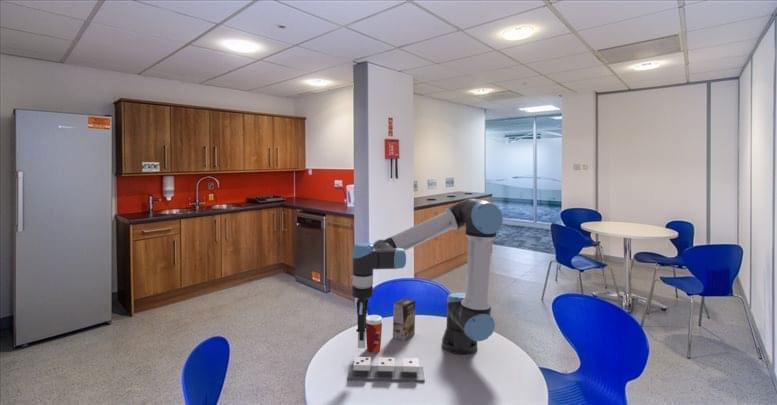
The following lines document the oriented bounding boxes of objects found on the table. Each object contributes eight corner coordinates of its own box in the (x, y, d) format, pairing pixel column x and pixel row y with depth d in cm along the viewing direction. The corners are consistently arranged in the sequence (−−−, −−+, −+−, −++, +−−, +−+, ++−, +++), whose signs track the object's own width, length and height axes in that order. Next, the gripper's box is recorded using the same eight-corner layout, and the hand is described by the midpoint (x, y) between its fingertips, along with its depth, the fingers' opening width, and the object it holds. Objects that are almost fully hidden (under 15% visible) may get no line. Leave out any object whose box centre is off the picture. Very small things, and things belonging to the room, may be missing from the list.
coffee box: (404, 341, 171) (404, 306, 169) (392, 337, 175) (392, 303, 173) (415, 333, 179) (415, 300, 177) (403, 330, 182) (404, 297, 181)
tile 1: (418, 363, 146) (418, 357, 146) (419, 371, 140) (419, 366, 140) (402, 362, 147) (402, 357, 146) (402, 371, 141) (402, 365, 140)
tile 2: (394, 362, 147) (394, 357, 146) (394, 371, 141) (394, 365, 140) (378, 362, 147) (378, 357, 147) (377, 370, 141) (378, 365, 141)
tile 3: (371, 362, 147) (371, 356, 147) (369, 370, 141) (369, 365, 141) (355, 361, 147) (355, 356, 147) (353, 370, 141) (353, 364, 141)
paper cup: (380, 355, 158) (380, 322, 157) (362, 352, 160) (362, 320, 159) (384, 346, 166) (384, 314, 165) (367, 344, 168) (367, 313, 166)
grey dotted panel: (423, 368, 148) (423, 366, 148) (424, 382, 139) (424, 379, 139) (350, 367, 149) (350, 364, 149) (347, 380, 140) (347, 377, 140)
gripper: (354, 279, 147) (353, 338, 150) (350, 290, 134) (349, 355, 137) (374, 280, 147) (372, 339, 150) (371, 291, 134) (370, 356, 137)
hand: (361, 347), depth 143 cm, fingers closed
